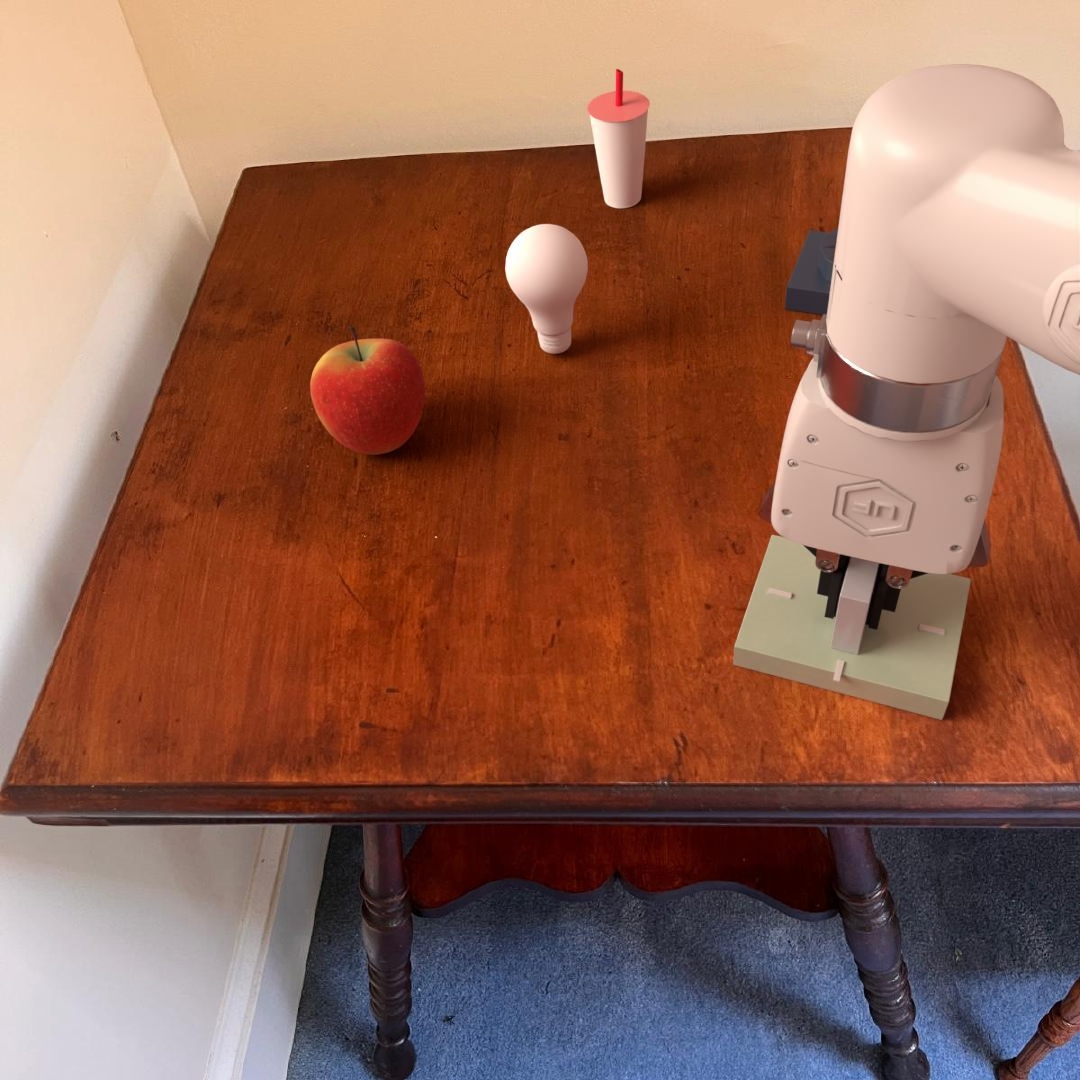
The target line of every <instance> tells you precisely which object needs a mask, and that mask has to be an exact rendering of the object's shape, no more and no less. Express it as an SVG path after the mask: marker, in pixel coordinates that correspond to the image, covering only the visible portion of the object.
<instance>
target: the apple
mask: <svg viewBox="0 0 1080 1080" xmlns="http://www.w3.org/2000/svg"><path fill="white" fill-rule="evenodd" d="M348 328H349V330H350V332H351V334H352V336H353V340H350V341H346V342H343V343H339V344H337V345H335V346H333V347H332V348H330V349H329V350H327V351H326V352H325V353H324V354H323V355H322V356H321V357H320V359H319V360H318V361H317V363H316V364H315V366H314V368H313V370H312V374H311V377H310V382H309V388H310V397H311V398H310V399H311V402H312V405H313V408H314V410H315V413H316V416H317V417H318V419H319V421H320V422H321V424H322V425H323V427H324V428H325V430H326V431H327V432H328V433H329V435H330V436H331V437H332V438H334V439H335V440H336V441H337V442H338V443H339V444H341V446H344V447H345V448H347V449H349V450H351V451H353V452H355V453H358V454H362V455H369V456H376V455H383V454H387V453H391V452H392V451H395V450H397V449H399V448H401V447H402V446H403V445H405V443H406V442H407V441H408V440H409V439H410V438H411V437H412V436H413V434H414V433H415V430H416V429H417V427H418V425H419V422H420V419H421V417H422V416H423V410H424V405H425V401H426V400H425V399H426V383H425V378H424V373H423V369H422V367H421V364H420V363H419V360H418V359H417V357H416V356H415V354H414V353H413V352H412V351H411V350H410V348H408V346H406V345H405V344H403V343H401V342H400V341H397V340H394V339H390V338H380V337H379V338H378V337H377V338H375V337H374V338H362V339H358V336H357V331H356V327H355V326H354V325H348Z"/></svg>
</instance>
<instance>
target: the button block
mask: <svg viewBox="0 0 1080 1080" xmlns="http://www.w3.org/2000/svg"><path fill="white" fill-rule="evenodd" d="M837 234H838V227H836V228H835V229H833V230H831V231H829V232H827V231H819V230H812V229H810V230H808V233H807V235H806V237H805V240H804V243H803V245H802V248H801V250H800V252H799V255H798V258H797V260H796V263H795V265H794V268H793V270H792V273H791V275H790V278H789V280H788V281H787V282H788V283H787V285H786V290H785V303H784V310H788V311H794V312H802V313H807V314H813V315H820V316H823V314H827V311H828V303H829V295H830V288H831V280H832V272H833V265H834V257H835V249H836V242H837Z"/></svg>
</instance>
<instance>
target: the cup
mask: <svg viewBox="0 0 1080 1080" xmlns="http://www.w3.org/2000/svg"><path fill="white" fill-rule="evenodd" d="M650 104H651V103H650V100H649V98H648V97H647V96H646V95H644V94H642V93H640V92H636V91H634V90H633V91H631V90H624V71H622V70H621V69H619V68H615V91H609V92H604V93H602V94H600V95H598V96H595V97H594V98H593V99H591V101H589V103H588V104H587V107H586V109H587V113H588V115H589V120H590V125H591V130H592V137H593V142H594V149H595V156H596V161H597V167H598V172H599V178H600V184H601V188H602V194H603V199H604V202H605V204H606V205H607V206H608V207H611V208H614V209H627V208H631V207H634V206H636V205H637V204H639V203H640V202H641V200H642V193H643V183H644V182H643V181H644V167H645V155H646V141H647V130H648V129H647V127H648V116H649V115H648V114H649V113H648V112H649V108H650Z"/></svg>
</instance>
